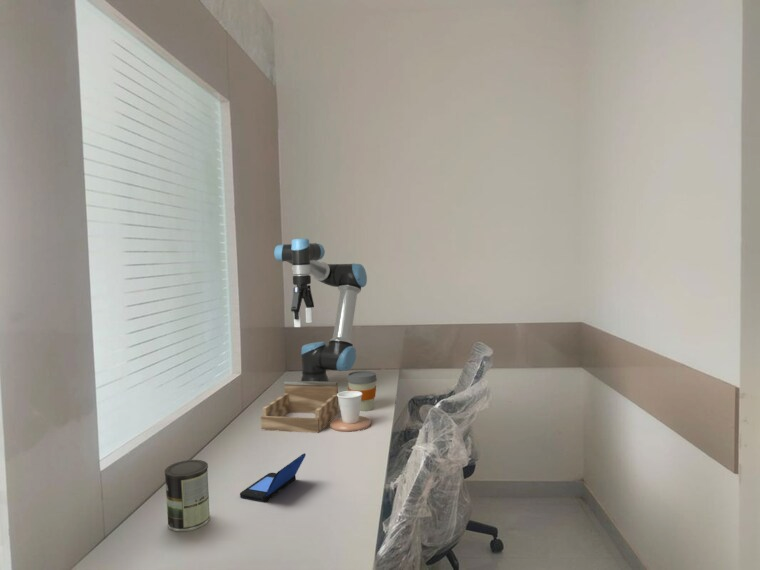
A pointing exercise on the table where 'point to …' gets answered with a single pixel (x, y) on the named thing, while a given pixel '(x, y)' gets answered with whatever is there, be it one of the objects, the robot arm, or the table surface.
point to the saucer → (341, 426)
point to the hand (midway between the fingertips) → (303, 324)
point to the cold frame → (302, 407)
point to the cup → (350, 406)
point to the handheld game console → (273, 482)
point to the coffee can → (187, 495)
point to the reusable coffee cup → (363, 387)
